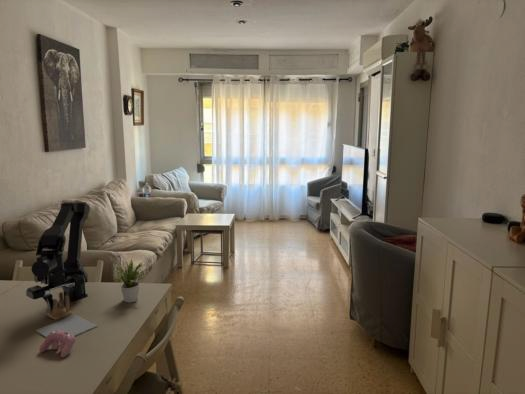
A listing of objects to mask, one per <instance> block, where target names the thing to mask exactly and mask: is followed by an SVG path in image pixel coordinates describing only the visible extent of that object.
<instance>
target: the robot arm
mask: <svg viewBox="0 0 525 394" xmlns="http://www.w3.org/2000/svg"><path fill="white" fill-rule="evenodd" d="M90 210H91V209H90V204H88V203H87V201H70V202H69V201H68V202H67V201H66V202H62V203H61V204H60V209H59V211H58V213H57V216H55V219H54V221H53V222H52V225H51V226H50V227H49V228H47V229H45V230H44V231H43V232H42V234H41V236H40V237H39V239H38V243H37V248H36V253H35V256H38V257H36V261H34V263H33V264H32V265H31V272H32V274H33V278H34V282H35V283H39V282H40V284H44V286H41V285H38V284H37V285H34V286H30V287H28V288H27V289H26V291H25V295H26V297H28V298H30V299H32V300H37V299H41V298H42V299H43V300H44V301H45V303H46V305H48V307H49V309H50V310H51V311H53V300H54V299H53V298H54V297H53V294H51V293H50V291H53V290H55V289H59V288H61V289H62V291H63V302H64V307H66V304H65V296H66V295H69V301H72V302H75V301H77V300H79V299H82V298H83V299H84V298H86V297H88V295H89V294H88V293H86V292H87V291H86V283H88V280H89V275H88V272H87V271H86V270H85V266H84V264H83V262H82V260H81V252H82V240H83V228H84V223H85V222H86V221H87V219H88V218H89V213H90ZM68 227H69V230H68V232H69V234H68V244H67V252H66V253H67V255H66V259H65V260H64V254H63V253H64V251H65V249H64V248H65V245H66V242H67V238H66V234H65V233H66V230H67V229H68ZM48 307H47V308H48Z"/></svg>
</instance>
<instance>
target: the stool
mask: <svg viewBox="0 0 525 394" xmlns="http://www.w3.org/2000/svg"><path fill="white" fill-rule="evenodd" d="M58 299H59V302H58V300H57V299H56V298H54V299H53V311H51V310H50V309H49V307H48V305H47V304H46V305H47V312H46V316H47V317H49V318H50V319H53V320H55V321H56V320H58V319H62V318H64V317H67V316H70V315H72V310H71V306H70V304H71V303H70V300H69V295H66V296H65V304H66V306H65V304H64V292H62V291H60V292H58ZM58 303H59V307H58ZM69 314H70V315H69Z"/></svg>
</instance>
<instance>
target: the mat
mask: <svg viewBox="0 0 525 394" xmlns="http://www.w3.org/2000/svg"><path fill="white" fill-rule="evenodd" d="M95 328H98V325H97V324H95V323H93V322H91V321H89V320H87V319H85V318H83V317H81V316H79V315H78V314H74V315H72V316H69V317H66V318H64V319H61V320H59V321H57V322H56V321H55V322H54V323H51V324H48V325H46V326H44V327H41V328H38V329H36V330H35V332H36V333H38V334H40V335H41V336H42V337H45V338H46V337H47V335H48V334H49V333H50V332H53V331H58V330H62V331H67V332H69V333H70V334H72V335H74V337H75V338H76V337H77V336H79V335H82V334H83V333H86V332H89V331H91V330H93V329H95ZM62 343H63V342H62V341H60V344H62Z"/></svg>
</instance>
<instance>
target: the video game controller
mask: <svg viewBox="0 0 525 394" xmlns="http://www.w3.org/2000/svg"><path fill="white" fill-rule="evenodd" d="M60 341H62V342H61V343H60ZM75 343H76V336H75V337H74V335H72V334H70V333H69V332H67V331H62V330H58V331H53V332H50V333H49V334H48V335H47V337H45V338H44V340H43V341H42V343H41V345H40V346H39V349H38V350H39V353H44V352H45V351H47V350H48V349H49V348H50V346H51V349H53V350H58V349H59V350H60V356H61V358H65V357H67V356H68V354H69V353H70V352H71V350H72V348H73V345H74V344H75Z"/></svg>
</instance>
